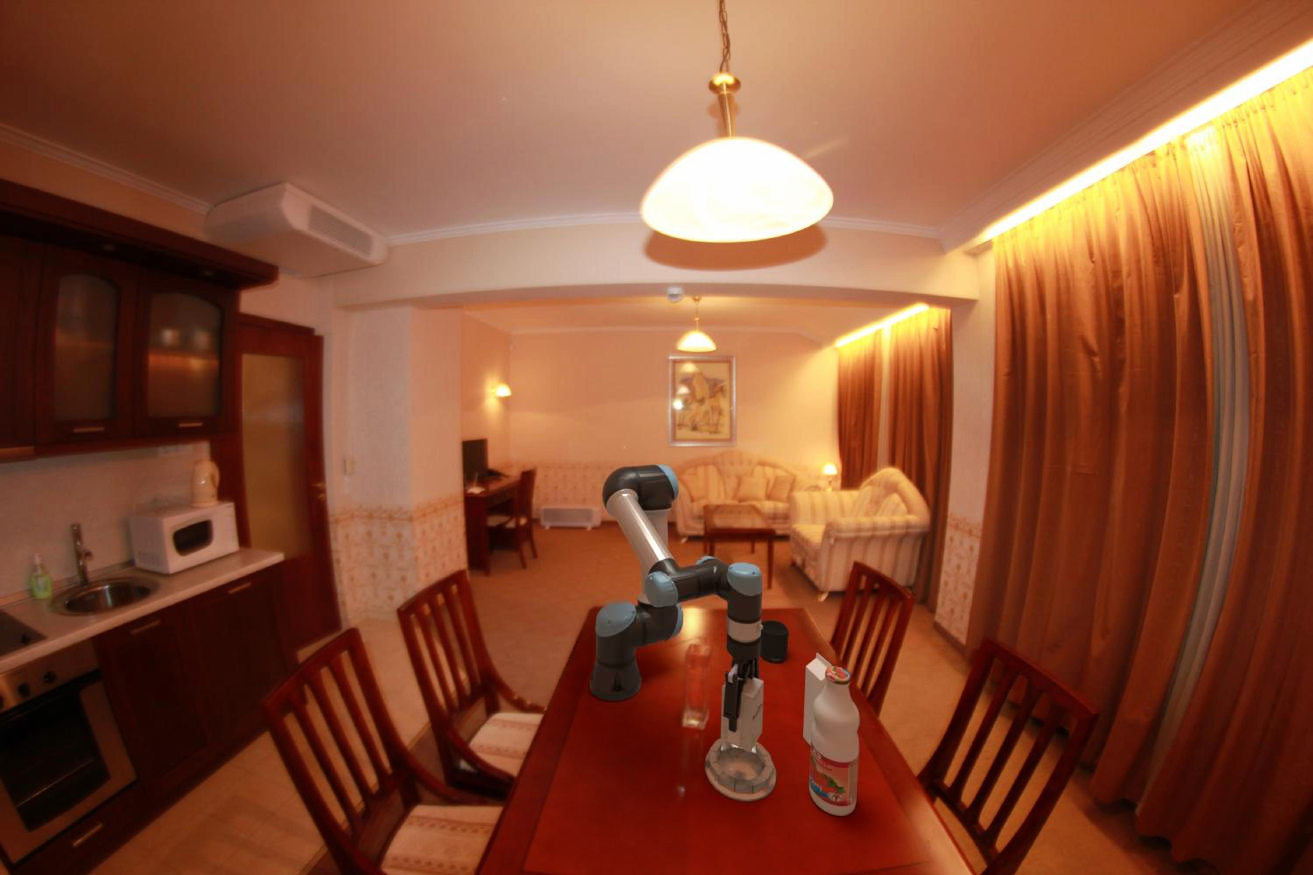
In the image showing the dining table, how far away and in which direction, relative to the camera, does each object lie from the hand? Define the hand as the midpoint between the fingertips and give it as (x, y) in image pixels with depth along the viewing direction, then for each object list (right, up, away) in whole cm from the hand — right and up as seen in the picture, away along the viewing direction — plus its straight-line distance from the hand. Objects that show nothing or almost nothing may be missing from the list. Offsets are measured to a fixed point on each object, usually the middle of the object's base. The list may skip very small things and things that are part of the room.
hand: (741, 731), depth 100 cm
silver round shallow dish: (0, -10, +1) cm, 10 cm away
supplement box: (0, -1, 0) cm, 1 cm away
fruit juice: (+18, -11, -6) cm, 22 cm away
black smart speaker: (+20, -6, +47) cm, 51 cm away
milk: (+21, -9, +9) cm, 25 cm away
